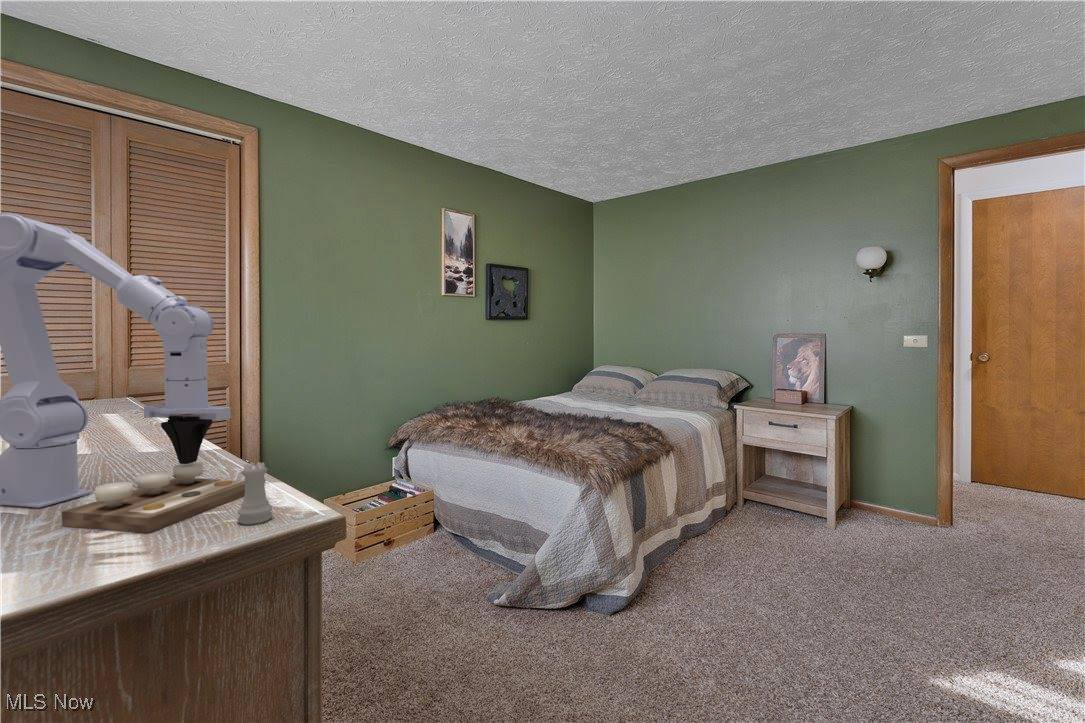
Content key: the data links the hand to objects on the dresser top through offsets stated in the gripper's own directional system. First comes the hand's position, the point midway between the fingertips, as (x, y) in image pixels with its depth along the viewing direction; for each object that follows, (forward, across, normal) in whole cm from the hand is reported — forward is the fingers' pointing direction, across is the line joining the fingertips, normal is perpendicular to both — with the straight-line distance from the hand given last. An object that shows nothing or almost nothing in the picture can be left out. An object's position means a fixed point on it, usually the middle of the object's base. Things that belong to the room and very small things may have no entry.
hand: (188, 462), depth 83 cm
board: (+6, +2, -6) cm, 8 cm away
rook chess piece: (+6, +19, -8) cm, 21 cm away
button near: (+3, 0, -12) cm, 12 cm away
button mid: (+3, 0, -6) cm, 7 cm away
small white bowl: (+3, 0, 0) cm, 3 cm away
